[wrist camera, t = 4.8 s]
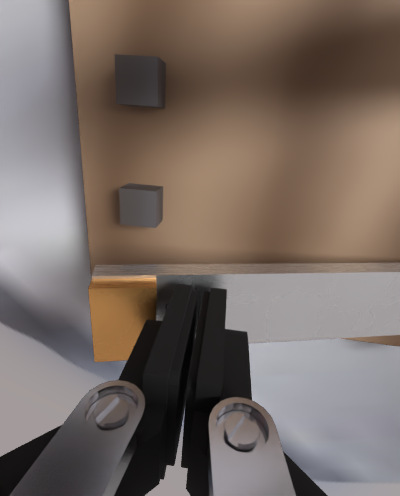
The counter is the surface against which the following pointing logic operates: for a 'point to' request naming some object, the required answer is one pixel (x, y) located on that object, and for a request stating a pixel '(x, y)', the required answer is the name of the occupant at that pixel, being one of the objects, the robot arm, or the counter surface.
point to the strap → (249, 300)
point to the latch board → (239, 131)
